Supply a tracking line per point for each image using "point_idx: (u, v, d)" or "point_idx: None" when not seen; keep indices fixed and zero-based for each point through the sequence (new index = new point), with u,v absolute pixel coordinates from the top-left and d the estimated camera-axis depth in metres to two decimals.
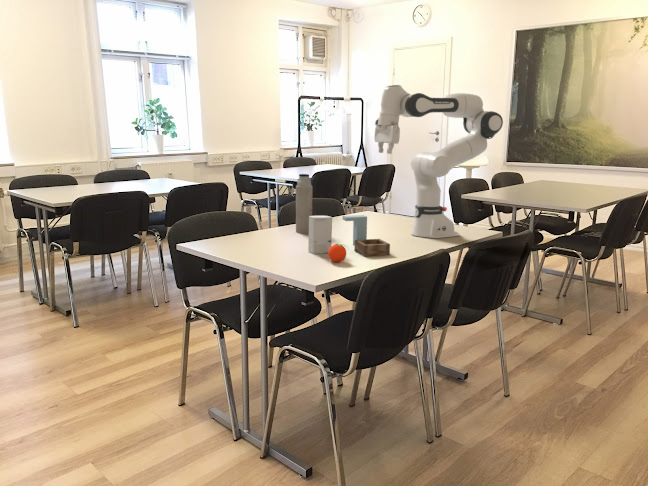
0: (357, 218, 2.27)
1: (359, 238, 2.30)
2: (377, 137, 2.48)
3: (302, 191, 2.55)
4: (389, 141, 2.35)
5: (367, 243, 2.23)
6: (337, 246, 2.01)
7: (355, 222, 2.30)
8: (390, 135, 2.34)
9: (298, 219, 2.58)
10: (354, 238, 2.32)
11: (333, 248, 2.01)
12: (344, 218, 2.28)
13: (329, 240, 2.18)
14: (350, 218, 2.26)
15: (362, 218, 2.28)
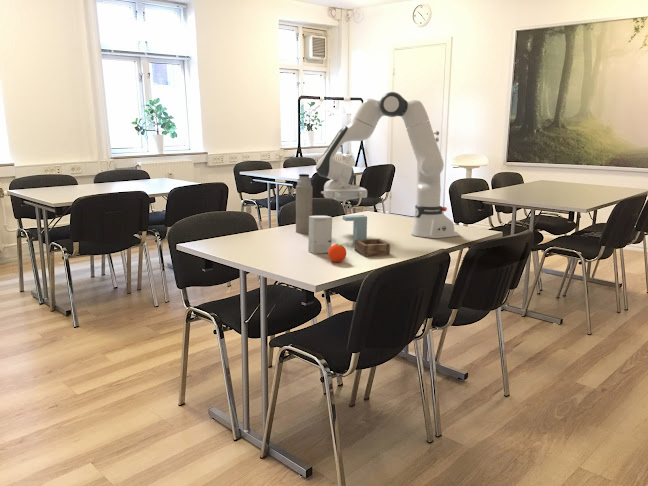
0: (357, 218, 2.27)
1: (359, 238, 2.30)
2: None
3: (302, 191, 2.55)
4: None
5: (367, 243, 2.23)
6: (337, 246, 2.01)
7: (355, 222, 2.30)
8: None
9: (298, 219, 2.58)
10: (354, 238, 2.32)
11: (333, 248, 2.01)
12: (344, 218, 2.28)
13: (329, 240, 2.18)
14: (350, 218, 2.26)
15: (362, 218, 2.28)
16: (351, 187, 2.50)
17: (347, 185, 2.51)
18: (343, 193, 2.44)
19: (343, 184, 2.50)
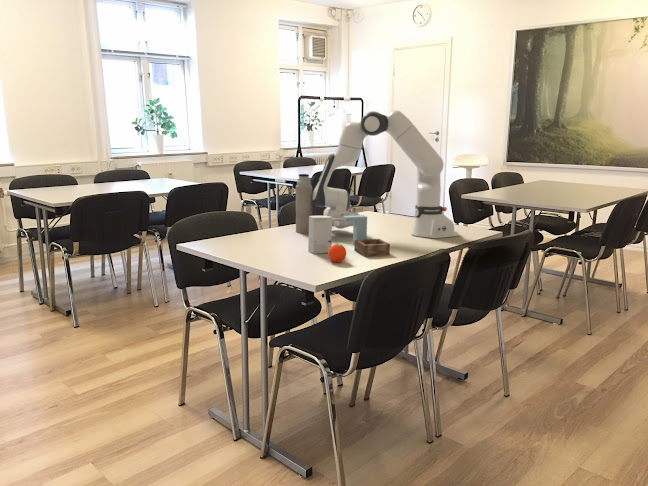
0: (357, 218, 2.27)
1: (359, 238, 2.30)
2: None
3: (302, 191, 2.55)
4: None
5: (367, 243, 2.23)
6: (337, 246, 2.01)
7: (355, 222, 2.30)
8: None
9: (298, 219, 2.58)
10: (354, 238, 2.32)
11: (333, 248, 2.01)
12: (344, 218, 2.28)
13: (329, 240, 2.18)
14: (350, 218, 2.26)
15: (362, 218, 2.28)
16: (350, 214, 2.53)
17: (346, 212, 2.54)
18: (342, 221, 2.47)
19: (342, 212, 2.53)
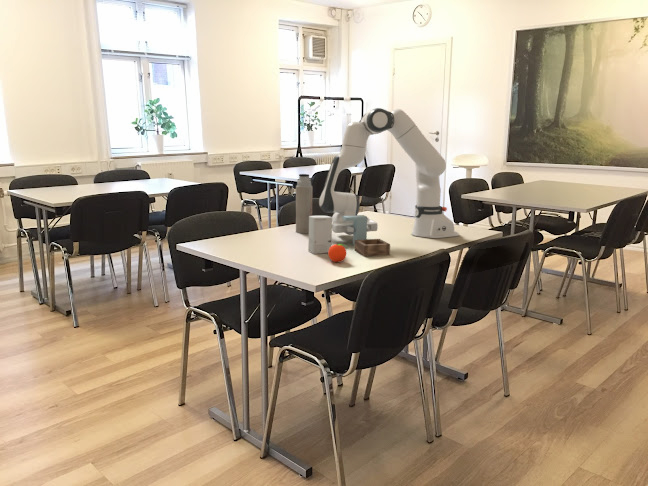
0: (357, 218, 2.27)
1: (359, 238, 2.30)
2: None
3: (302, 191, 2.55)
4: (340, 232, 2.34)
5: (367, 243, 2.23)
6: (337, 246, 2.01)
7: (355, 222, 2.30)
8: None
9: (298, 219, 2.58)
10: (354, 238, 2.32)
11: (333, 248, 2.01)
12: (344, 218, 2.28)
13: (329, 240, 2.18)
14: (350, 218, 2.26)
15: (362, 218, 2.28)
16: None
17: None
18: (352, 227, 2.35)
19: None
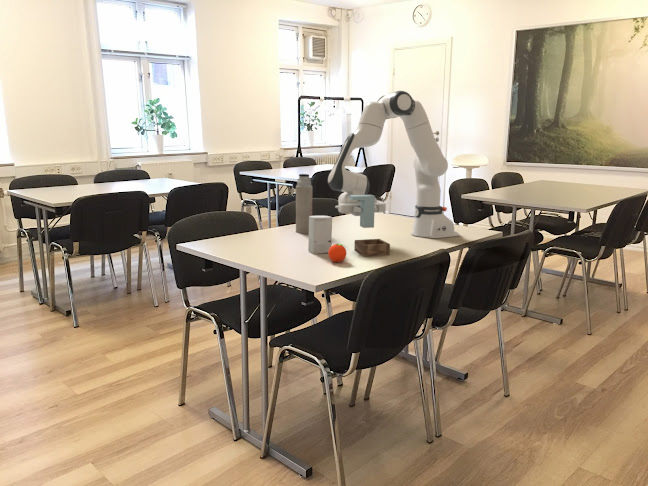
0: (364, 197, 2.17)
1: (366, 218, 2.19)
2: (376, 211, 2.28)
3: (302, 191, 2.55)
4: None
5: (367, 243, 2.23)
6: (337, 246, 2.01)
7: (362, 202, 2.19)
8: None
9: (298, 219, 2.58)
10: (361, 219, 2.22)
11: (333, 248, 2.01)
12: (351, 197, 2.18)
13: (329, 240, 2.18)
14: (357, 197, 2.16)
15: (370, 197, 2.18)
16: None
17: None
18: (359, 207, 2.25)
19: None
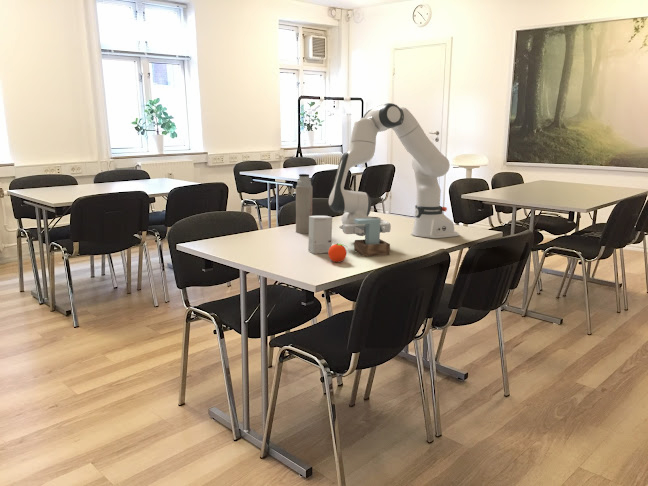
0: (369, 221, 2.14)
1: (371, 242, 2.16)
2: None
3: (302, 191, 2.55)
4: (351, 233, 2.20)
5: None
6: (337, 246, 2.01)
7: (367, 225, 2.16)
8: None
9: (298, 219, 2.58)
10: (366, 242, 2.19)
11: (333, 248, 2.01)
12: (356, 221, 2.15)
13: (329, 240, 2.18)
14: (362, 221, 2.13)
15: (375, 221, 2.15)
16: None
17: None
18: (364, 228, 2.21)
19: (363, 217, 2.28)
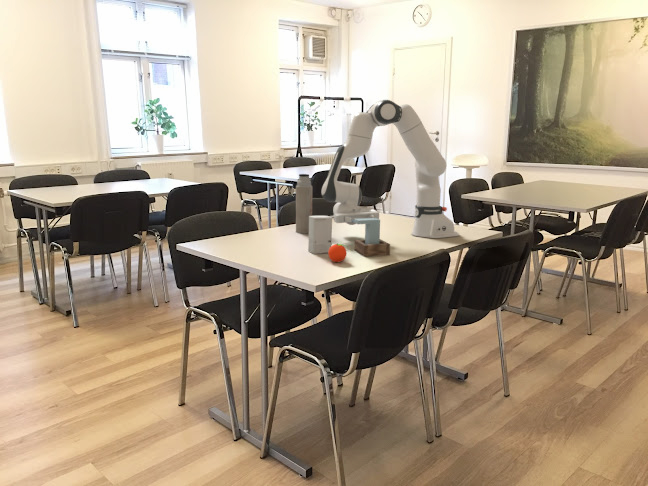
0: (369, 221, 2.14)
1: (371, 242, 2.16)
2: None
3: (302, 191, 2.55)
4: (341, 222, 2.32)
5: None
6: (337, 246, 2.01)
7: (367, 225, 2.16)
8: None
9: (298, 219, 2.58)
10: (366, 242, 2.19)
11: (333, 248, 2.01)
12: (356, 221, 2.15)
13: (329, 240, 2.18)
14: (362, 221, 2.13)
15: (375, 221, 2.15)
16: (362, 210, 2.40)
17: (358, 208, 2.41)
18: (354, 217, 2.34)
19: (353, 207, 2.40)
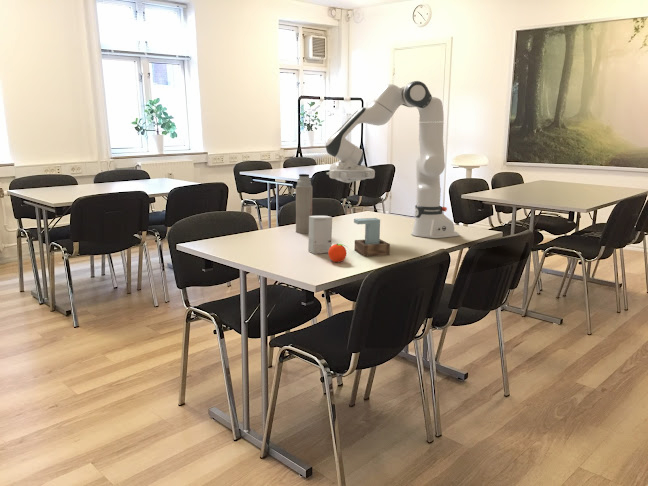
0: (369, 221, 2.14)
1: (371, 242, 2.16)
2: None
3: (302, 191, 2.55)
4: (337, 178, 2.33)
5: None
6: (337, 246, 2.01)
7: (367, 225, 2.16)
8: None
9: (298, 219, 2.58)
10: (366, 242, 2.19)
11: (333, 248, 2.01)
12: (356, 221, 2.15)
13: (329, 240, 2.18)
14: (362, 221, 2.13)
15: (375, 221, 2.15)
16: (358, 168, 2.41)
17: (353, 166, 2.42)
18: (349, 173, 2.35)
19: (349, 165, 2.41)
